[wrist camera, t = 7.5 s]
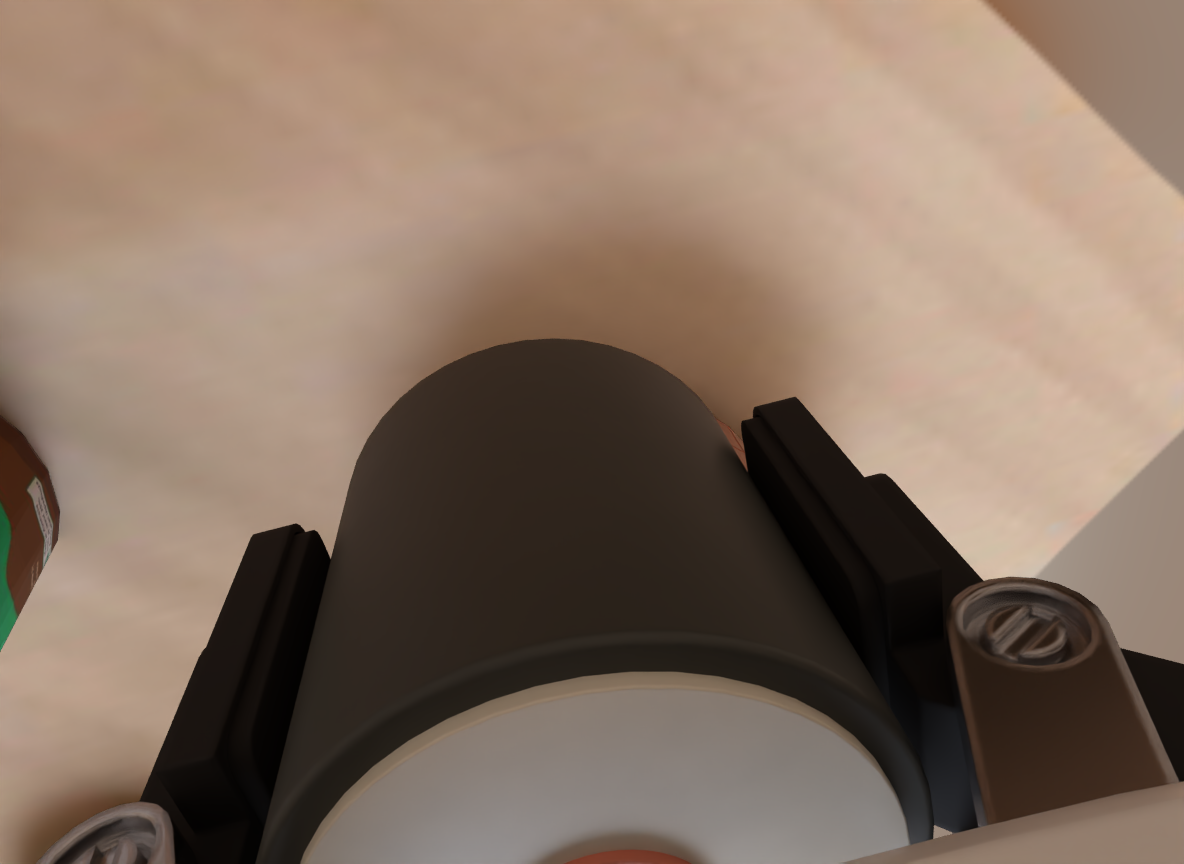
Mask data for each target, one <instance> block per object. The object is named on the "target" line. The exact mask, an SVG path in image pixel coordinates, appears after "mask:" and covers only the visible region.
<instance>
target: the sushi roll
mask: <svg viewBox="0 0 1184 864" xmlns="http://www.w3.org/2000/svg"><path fill="white" fill-rule="evenodd" d="M933 830H934V816H933V808H932V801H931V794H930V787H929V783H928V780H927V777H926V774H925V771H924V768H923V766H922V763H921V760H920V757H919V755H918V753H917V752H916V750H915V748H914V747H913V745H912V743H911V742H910V740H909V738H908V737H907V735H906V733H905V732H904V730H903V728H902V727H901V725H900V723H899V722H898V720H897V718H896V717H895V715H894V713H893V712H892V710H891V708H890V707H889V705H888V703H887V702H886V700H885V699H884V697H883V695H882V694H881V692H880V690H879V689H878V687H877V685H876V684H875V682H874V680H873V679H872V677H871V675H870V674H869V672H868V670H867V669H866V667H865V665H864V664H863V662H862V660H861V659H860V657H859V655H858V654H857V652H856V650H855V649H854V647H853V646H852V644H851V642H850V641H849V639H848V637H847V636H846V634H845V632H844V631H843V629H842V627H841V626H840V624H839V622H838V621H837V619H836V617H835V616H834V614H833V612H832V611H831V609H830V607H829V606H828V604H827V602H826V601H825V599H824V597H823V596H822V594H821V593H820V591H819V589H818V588H817V586H816V584H815V583H814V581H813V579H812V578H811V576H810V574H809V573H808V571H807V569H806V568H805V566H804V564H803V563H802V561H801V559H800V558H799V556H798V554H797V553H796V551H795V549H794V548H793V546H792V544H791V543H790V541H789V540H788V538H787V536H786V535H785V533H784V531H783V530H782V528H781V526H780V525H779V523H778V521H777V520H776V518H775V516H774V515H773V513H772V511H771V510H770V508H769V506H768V505H767V503H766V501H765V500H764V498H763V496H762V495H761V493H760V491H759V490H758V488H757V487H756V485H755V483H754V482H753V480H752V478H751V477H750V475H749V473H748V472H747V470H746V468H745V467H744V465H743V463H742V462H741V460H740V458H739V457H738V455H737V453H736V452H735V450H734V448H733V447H732V445H731V443H730V442H729V440H728V438H727V437H726V435H725V434H724V432H723V430H722V429H721V427H720V425H719V424H718V422H717V420H716V419H715V417H714V415H713V414H712V413H711V411H710V410H709V409H708V408H707V407H706V405H705V404H704V403H703V402H702V400H701V399H700V398H699V397H698V396H697V395H696V394H695V393H694V392H693V391H692V390H691V389H689V388H688V387H687V386H686V385H685V384H684V383H683V382H682V381H681V380H679V379H678V378H676V377H675V376H673V375H672V374H670V373H669V372H668V371H666V370H665V369H663V368H662V367H660V366H659V365H657V364H654V363H652V362H650V361H648V360H646V359H644V358H642V357H640V356H638V355H636V354H633V353H630V352H627V351H624V350H621V349H618V348H615V347H612V346H609V345H604V344H599V343H593V342H588V341H583V340H569V339H539V340H525V341H519V342H514V343H509V344H503V345H498V346H494V347H491V348H488V349H485V350H482V351H479V352H476V353H472V354H470V355H467V356H465V357H463V358H461V359H459V360H457V361H454V362H452V363H450V364H448V365H446V366H444V367H442V368H441V369H439V370H438V371H436V372H434V373H433V374H431V375H430V376H428V377H426V378H425V379H423V380H422V381H420V382H419V383H418V384H417V385H415V386H414V387H413V388H412V389H411V390H409V391H408V392H407V393H406V394H405V395H403V396H402V397H401V398H400V399H399V400H398V401H397V402H396V403H395V404H394V405H393V406H392V408H391V409H390V410H389V411H388V412H387V413H386V414H385V415H384V416H383V417H382V419H381V420H380V422H379V423H378V425H377V426H376V427H375V429H374V430H373V432H372V433H371V435H370V436H369V438H368V439H367V441H366V443H365V445H364V447H363V450H362V452H361V454H360V456H359V458H358V460H357V462H356V465H355V469H354V472H353V475H352V478H351V481H350V485H349V489H348V493H347V497H346V501H345V505H344V509H343V513H342V517H341V521H340V525H339V529H338V533H337V537H336V541H335V545H334V549H333V553H332V557H331V561H330V565H329V569H328V573H327V577H326V581H325V585H324V590H323V594H322V598H321V602H320V606H319V610H318V614H317V618H316V622H315V626H314V630H313V634H312V638H311V642H310V646H309V650H308V654H307V658H306V662H305V666H304V670H303V674H302V678H301V682H300V686H299V690H298V694H297V698H296V702H295V706H294V710H293V714H292V718H291V722H290V726H289V730H288V735H287V739H286V743H285V747H284V751H283V755H282V759H281V763H280V767H279V771H278V775H277V779H276V783H275V787H274V791H273V795H272V799H271V803H270V807H269V811H268V815H267V819H266V823H265V827H264V831H263V835H262V839H261V843H260V847H259V851H258V855H257V859H256V863H255V864H839V863H843V862H846V861H850V860H854V859H858V858H862V857H866V856H870V855H873V854H877V853H881V852H885V851H889V850H893V849H897V848H901V847H904V846H908V845H912V844H916V843H920V842H924V841H928V840H931V839H933Z"/></svg>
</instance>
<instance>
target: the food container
mask: <svg viewBox="0 0 1184 864" xmlns="http://www.w3.org/2000/svg"><path fill="white" fill-rule="evenodd" d="M59 516H60V511H59V507H58V504H57V500H56V497H55V493H54V490H53V486H52V483H51V479H50V476H49V472H48V471H47V469H46V468H45V466H44V465H43V463H42V462H41V461H40V459H39V458H38V456H37V455H36V453H35V452H34V450H33V449H32V448H31V446H30V445H29V443H28V442H27V440H26V439H25V437H24V436H23V434H22V433H21V432H19V431H18V430H17V429H16V428H15V427H13V426H12V425H11V424H10V423H9V422H7V421H6V420H5V419H4V418H3V417H1V416H0V651H1V649H2V647H3V645H4V643H5V642H6V640H7V638H8V636H9V634H10V632H11V630H12V628H13V626H14V624H15V622H16V620H17V618H18V616H19V614H20V612H21V610H22V609H23V607H24V605H25V603H26V601H27V599H28V597H29V595H30V593H31V591H32V589H33V587H34V585H35V583H36V581H37V579H38V578H39V576H40V574H41V572H42V570H43V568H44V566H45V564H46V562H47V560H48V558H49V556H50V554H51V552H52V550H53V548H54V546H55V545H56V543H57V541H58V531H59Z"/></svg>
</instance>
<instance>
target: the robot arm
mask: <svg viewBox="0 0 1184 864" xmlns="http://www.w3.org/2000/svg"><path fill="white" fill-rule="evenodd" d="M741 430H742V438H743V444H744V451H745V457H746V464H747V470H748V473H749V475H750V477H751V478H752V480H753V482H754V483H755V485H756V487H757V488H758V490H759V491H760V493H761V495H762V496H763V498H764V500H765V501H766V503H767V505H768V506H769V508H770V510H771V511H772V513H773V515H774V516H775V518H776V520H777V521H778V523H779V525H780V526H781V528H782V530H783V531H784V533H785V535H786V536H787V538H788V540H789V541H790V543H791V544H792V546H793V548H794V549H795V551H796V553H797V554H798V556H799V558H800V559H801V561H802V563H803V564H804V566H805V568H806V569H807V571H808V573H809V574H810V576H811V578H812V579H813V581H814V583H815V584H816V586H817V588H818V589H819V591H820V593H821V594H822V596H823V597H824V599H825V601H826V602H827V604H828V606H829V607H830V609H831V611H832V612H833V614H834V616H835V617H836V619H837V621H838V622H839V624H840V626H841V627H842V629H843V631H844V632H845V634H846V636H847V637H848V639H849V641H850V642H851V644H852V646H853V647H854V649H855V650H856V652H857V654H858V655H859V657H860V659H861V660H862V662H863V664H864V665H865V667H866V669H867V670H868V672H869V674H870V675H871V677H872V679H873V680H874V682H875V684H876V685H877V687H878V689H879V690H880V692H881V694H882V695H883V697H884V699H885V700H886V702H887V703H888V705H889V707H890V708H891V710H892V712H893V713H894V715H895V717H896V718H897V720H898V722H899V723H900V725H901V727H902V728H903V730H904V732H905V733H906V735H907V737H908V738H909V740H910V742H911V743H912V745H913V747H914V748H915V750H916V752H917V753H918V755H919V757H920V760H921V763H922V766H923V768H924V771H925V774H926V777H927V780H928V783H929V787H930V794H931V801H932V808H933V816H934V825H936V826H938V827H941V828H944V829H946V830H948V831H951V832H952V834H951V835H947V836H943V837H940V838H936V839H931V840H928V841H924V842H920V843H916V844H912V845H908V846H904V847H901V848H897V849H893V850H889V851H885V852H881V853H877V854H873V855H870V856H866V857H862V858H858V859H854V860H850V861H846V862H843V863H839V864H1184V664H1181V663H1177V662H1173V661H1169V660H1165V659H1161V658H1157V657H1153V656H1149V655H1145V654H1141V653H1138V652H1134V651H1130V650H1126V649H1122V648H1120V647H1119V645H1118V642H1117V640H1116V638H1115V636H1114V634H1113V631H1112V629H1111V627H1110V624H1109V622H1108V621H1107V619H1106V618H1105V617H1104V615H1103V614H1102V612H1101V611H1100V610H1099V608H1098V607H1097V606H1096V605H1095V604H1093V603H1092V602H1091V601H1089V600H1088V599H1087V598H1085V597H1084V596H1082V595H1081V594H1080V593H1078V592H1076V591H1073V590H1071V589H1069V588H1066V587H1064V586H1062V585H1060V584H1057V583H1052V582H1048V581H1044V580H1040V579H1036V578H1023V577H1005V578H997V579H989V580H986V581H983V580H982V579H981V578H980V577H979V575H978V574H977V573H976V572H975V571H974V570H973V569H972V568H971V567H970V565H969V564H968V563H967V562H966V561H965V560H964V559H963V558H962V557H961V555H960V554H959V553H958V552H957V551H956V550H955V549H954V548H953V547H952V545H951V544H950V543H949V542H948V541H947V540H946V539H945V538H944V537H943V535H942V534H941V533H940V532H939V531H938V530H937V529H936V528H935V527H934V525H933V524H932V523H931V522H930V521H929V520H928V519H927V518H926V517H925V515H924V514H923V513H922V512H921V511H920V510H919V509H918V508H917V507H916V505H915V504H914V503H913V502H912V501H911V500H910V499H909V498H908V497H907V495H906V494H905V493H904V492H903V491H902V490H901V489H900V488H899V487H898V485H897V484H896V483H895V482H894V481H893V480H892V479H891V478H890V477H888V476H887V475H886V474H881V473H880V474H876V475H872V476H868V477H864V476H863V475H862V474H861V473H860V472H859V470H858V469H857V468H856V467H855V466H854V465H853V463H852V462H851V461H850V460H849V459H848V457H847V456H846V455H845V454H844V453H843V452H842V450H841V449H840V448H839V447H838V446H837V444H836V443H835V442H834V441H833V440H832V438H831V437H830V436H829V435H828V434H827V433H826V431H825V430H824V429H823V428H822V427H821V425H820V424H819V423H818V422H817V421H816V420H815V418H814V417H813V416H812V415H811V414H810V412H809V411H808V410H807V409H806V408H805V407H804V405H803V404H802V403H801V402H800V401H799V399H797V398H796V397H792V398H788V399H784V400H780V401H776V402H772V403H768V404H765V405H761V406H757V407H754V410H753V418H752V419H748V420H745V421H742V423H741ZM330 561H331V559H330V557H329V554H328V552H327V550H326V547H325V545H324V543H323V541H322V539H321V537H320V535H319V534H318V532H317V531H315V530H312V531H308V532H305V531H304V529H303V528H302V527H301V526H300V525H298V524H292V525H288V526H284V527H280V528H277V529H273V530H269V531H265V532H261V533H257V534H254V535H253V536H252V537H251V539H250V541H249V544H248V546H247V549H246V551H245V554H244V556H243V558H242V561H241V563H240V566H239V568H238V571H237V573H236V576H235V578H234V580H233V583H232V585H231V588H230V590H229V593H228V595H227V598H226V600H225V602H224V605H223V607H222V610H221V612H220V615H219V617H218V620H217V622H216V624H215V627H214V629H213V632H212V634H211V637H210V639H209V642H208V644H207V646H206V648H205V649H204V650H203V652H202V653H201V655H200V657H199V659H198V661H197V663H196V666H195V668H194V671H193V673H192V675H191V678H190V680H189V683H188V685H187V688H186V690H185V692H184V695H183V697H182V700H181V702H180V704H179V707H178V709H177V712H176V714H175V717H174V719H173V721H172V724H171V726H170V729H169V731H168V733H167V736H166V738H165V741H164V743H163V746H162V748H161V750H160V753H159V755H158V758H157V760H156V762H155V765H154V767H153V770H152V772H151V775H150V777H149V779H148V782H147V784H146V787H145V789H144V791H143V794H142V796H141V799H140V801H139V802H135V803H128V804H122V805H118V806H116V807H113V808H111V809H108V810H106V811H103V812H101V813H98V814H96V815H94V816H93V817H91V818H89V819H88V820H86V821H84V822H83V823H81V824H79V825H78V826H76V827H74V828H73V829H72V830H71V831H69V832H68V833H67V834H66V835H64V836H63V837H62V838H61V839H60V840H58V841H57V842H56V843H55V844H53V845H52V846H51V847H50V849H49V850H48V851H47V852H46V853H45V854H44V855H43V856H42V857H41V858H40V860H39V861H38V862H37V863H36V864H255V863H256V859H257V855H258V851H259V847H260V843H261V839H262V835H263V831H264V827H265V823H266V819H267V815H268V811H269V807H270V803H271V799H272V795H273V791H274V787H275V783H276V779H277V775H278V771H279V767H280V763H281V759H282V755H283V751H284V747H285V743H286V739H287V735H288V730H289V726H290V722H291V718H292V714H293V710H294V706H295V702H296V698H297V694H298V690H299V686H300V682H301V678H302V674H303V670H304V666H305V662H306V658H307V654H308V650H309V646H310V642H311V638H312V634H313V630H314V626H315V622H316V618H317V614H318V610H319V606H320V602H321V598H322V594H323V590H324V585H325V581H326V577H327V573H328V569H329V565H330Z"/></svg>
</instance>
